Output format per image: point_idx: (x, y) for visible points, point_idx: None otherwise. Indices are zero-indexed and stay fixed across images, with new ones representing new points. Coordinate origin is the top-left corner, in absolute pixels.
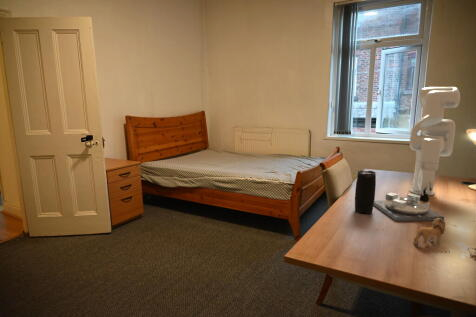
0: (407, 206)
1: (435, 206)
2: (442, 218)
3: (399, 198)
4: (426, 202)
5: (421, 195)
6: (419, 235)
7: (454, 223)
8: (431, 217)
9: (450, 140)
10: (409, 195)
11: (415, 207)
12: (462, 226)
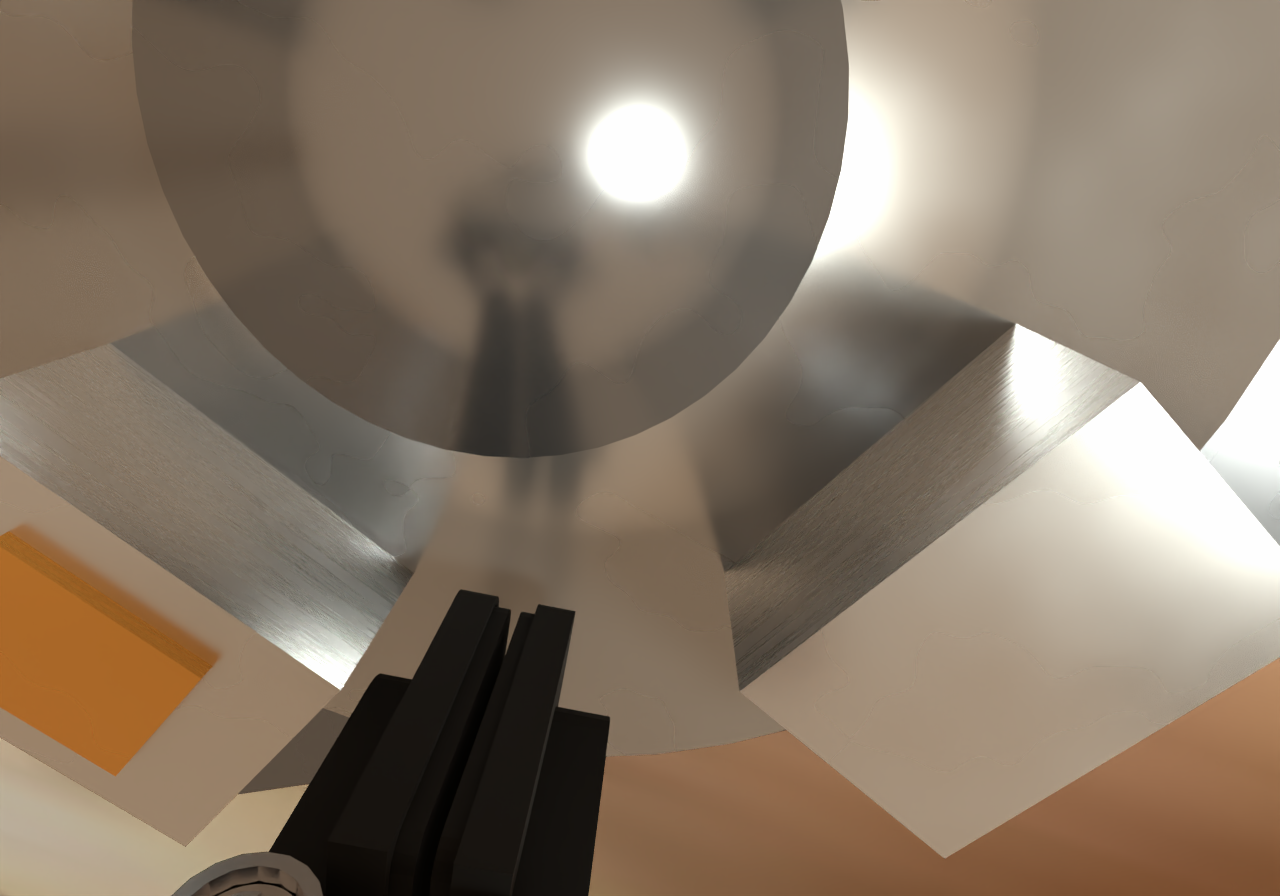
0: (33, 7)
1: (1050, 889)
2: None
3: (1157, 14)
4: (88, 739)
5: (333, 856)
6: None
7: None
8: None
9: None
10: (1039, 451)
11: (53, 299)
12: (117, 862)
